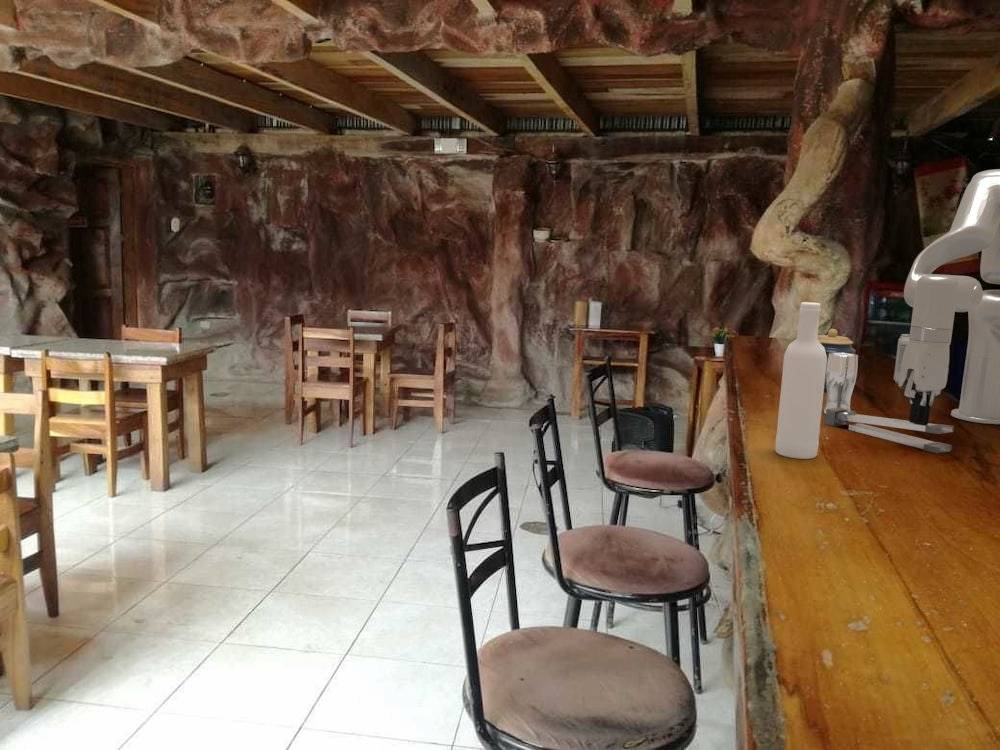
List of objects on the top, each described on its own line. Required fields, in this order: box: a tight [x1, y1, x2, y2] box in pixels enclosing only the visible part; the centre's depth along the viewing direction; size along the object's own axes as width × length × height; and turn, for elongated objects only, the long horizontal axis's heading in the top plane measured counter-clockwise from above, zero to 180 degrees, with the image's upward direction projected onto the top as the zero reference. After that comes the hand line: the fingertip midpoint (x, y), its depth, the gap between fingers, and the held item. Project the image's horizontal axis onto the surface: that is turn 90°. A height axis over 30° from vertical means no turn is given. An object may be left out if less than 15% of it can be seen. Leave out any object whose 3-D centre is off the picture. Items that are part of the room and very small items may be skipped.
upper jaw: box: [836, 410, 955, 435], centre depth 166 cm, size 24×5×2 cm, turn 29°
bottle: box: [775, 301, 827, 460], centre depth 150 cm, size 8×8×30 cm
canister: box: [817, 328, 857, 393], centre depth 222 cm, size 13×13×18 cm
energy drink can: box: [893, 333, 910, 384], centre depth 235 cm, size 6×6×15 cm
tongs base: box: [824, 407, 953, 454], centre depth 168 cm, size 27×5×4 cm, turn 29°
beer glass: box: [823, 352, 859, 415], centre depth 188 cm, size 7×7×15 cm
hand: (918, 423), depth 160 cm, fingers closed
